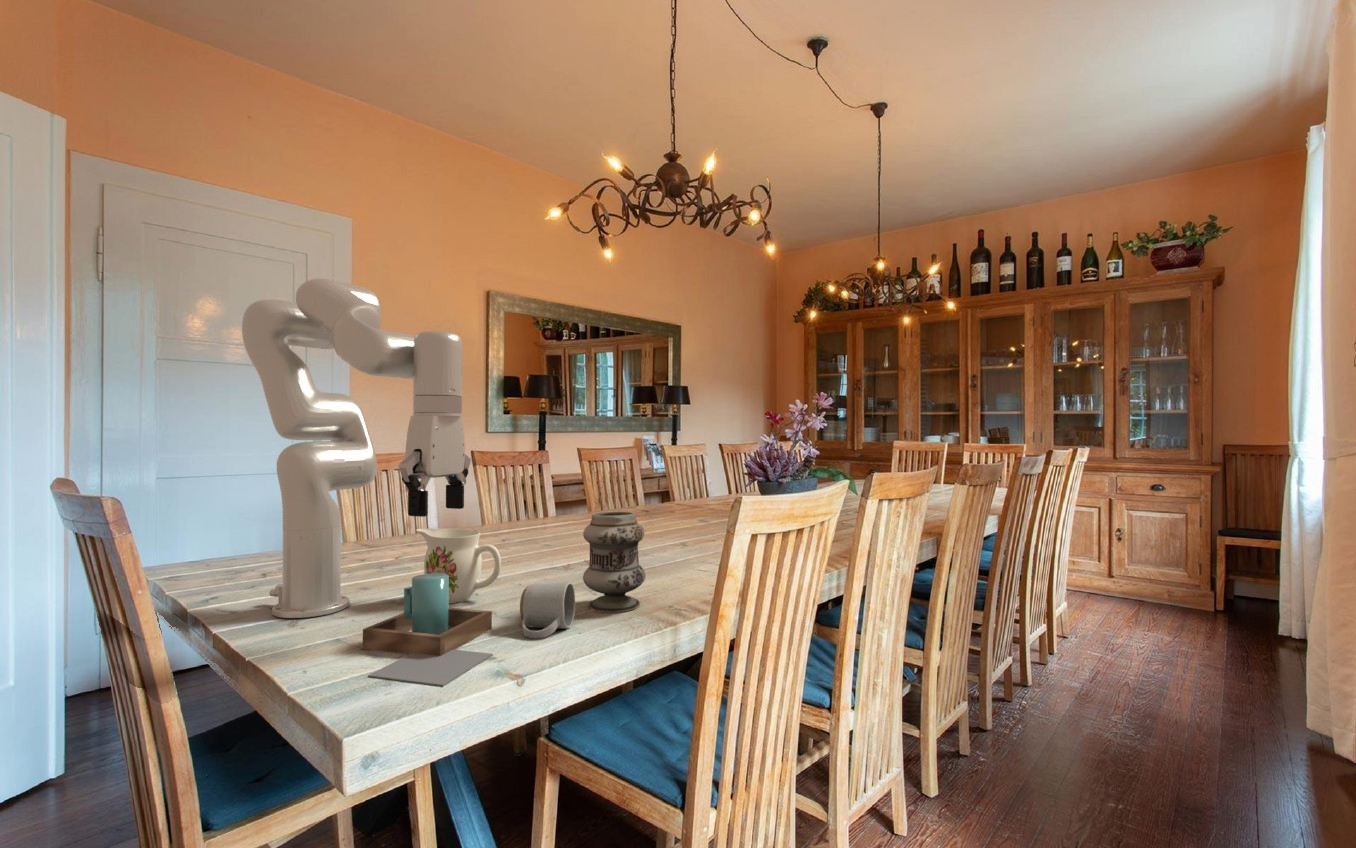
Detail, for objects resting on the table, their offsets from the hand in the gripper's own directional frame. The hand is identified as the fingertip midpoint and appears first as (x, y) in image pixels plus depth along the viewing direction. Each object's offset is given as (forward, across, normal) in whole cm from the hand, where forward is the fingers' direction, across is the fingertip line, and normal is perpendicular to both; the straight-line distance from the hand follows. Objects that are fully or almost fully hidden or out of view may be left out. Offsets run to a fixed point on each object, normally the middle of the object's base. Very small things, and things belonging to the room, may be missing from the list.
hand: (437, 512), depth 104 cm
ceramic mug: (+21, -9, +15) cm, 27 cm away
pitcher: (+21, -22, -10) cm, 32 cm away
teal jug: (+21, 0, -1) cm, 21 cm away
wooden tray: (+21, 0, -1) cm, 21 cm away
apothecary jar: (+21, -25, +22) cm, 39 cm away
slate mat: (+20, +11, +7) cm, 24 cm away
